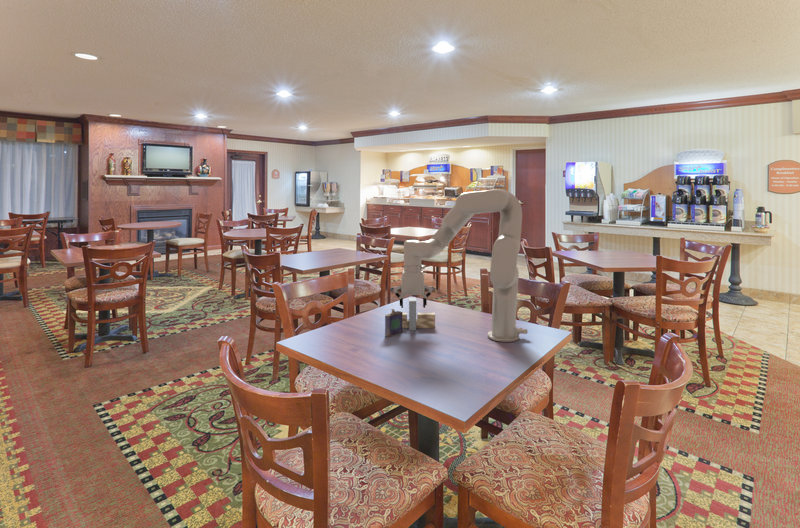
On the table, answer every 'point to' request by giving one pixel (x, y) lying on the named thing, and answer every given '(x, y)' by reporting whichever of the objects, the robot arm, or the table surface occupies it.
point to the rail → (420, 320)
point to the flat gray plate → (412, 313)
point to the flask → (393, 323)
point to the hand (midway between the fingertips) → (413, 307)
